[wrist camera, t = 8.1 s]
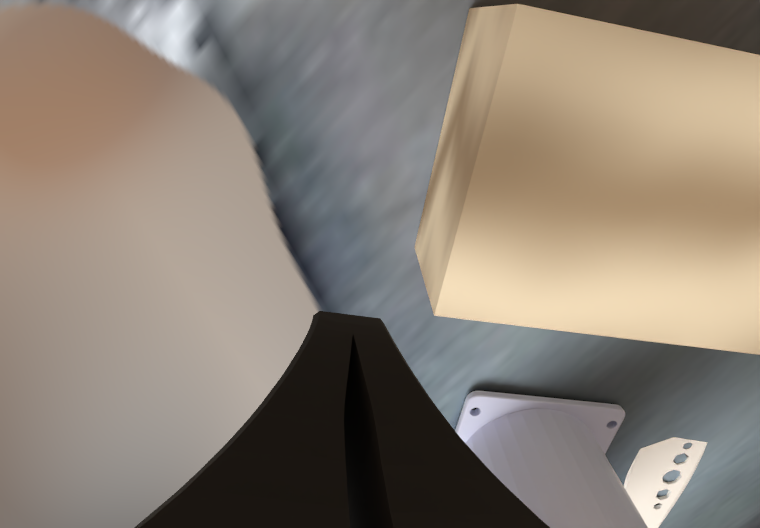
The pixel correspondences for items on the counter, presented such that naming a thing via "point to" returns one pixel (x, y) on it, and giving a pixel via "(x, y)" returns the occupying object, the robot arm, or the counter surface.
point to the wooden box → (597, 183)
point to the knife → (660, 477)
